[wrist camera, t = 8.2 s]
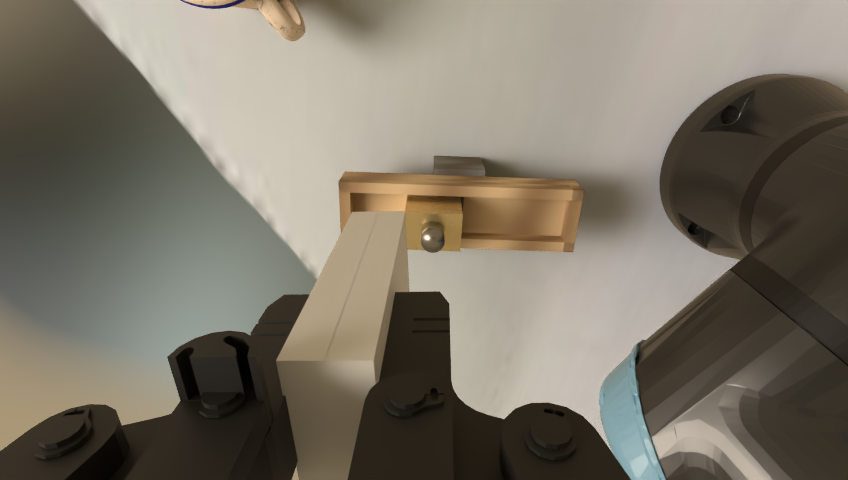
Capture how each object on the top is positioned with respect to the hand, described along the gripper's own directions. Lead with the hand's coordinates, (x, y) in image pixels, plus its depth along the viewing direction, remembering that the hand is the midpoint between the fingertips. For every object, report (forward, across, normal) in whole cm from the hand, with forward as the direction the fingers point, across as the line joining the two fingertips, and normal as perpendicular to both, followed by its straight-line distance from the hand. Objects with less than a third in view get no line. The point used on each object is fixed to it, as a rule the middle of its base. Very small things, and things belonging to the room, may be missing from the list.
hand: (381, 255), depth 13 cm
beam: (+28, -3, +7) cm, 29 cm away
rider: (+22, -1, +7) cm, 23 cm away
